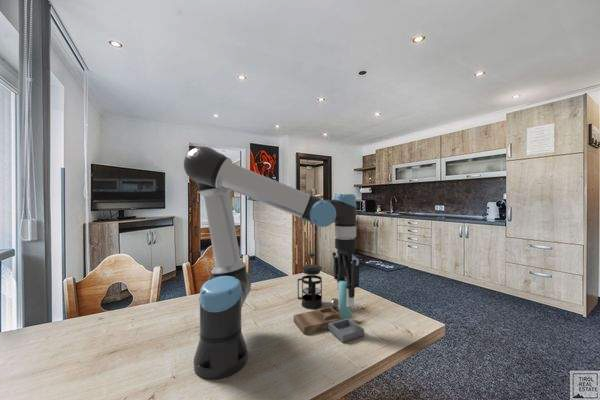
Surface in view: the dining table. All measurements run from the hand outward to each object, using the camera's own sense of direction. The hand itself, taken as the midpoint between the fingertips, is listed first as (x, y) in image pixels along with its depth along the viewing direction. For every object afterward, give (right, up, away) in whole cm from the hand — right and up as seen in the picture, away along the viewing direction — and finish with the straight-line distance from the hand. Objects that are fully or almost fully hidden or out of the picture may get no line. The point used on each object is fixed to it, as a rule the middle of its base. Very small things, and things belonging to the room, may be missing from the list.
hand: (346, 303), depth 88 cm
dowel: (0, -5, 0) cm, 5 cm away
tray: (0, -11, 0) cm, 11 cm away
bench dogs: (-1, -11, +12) cm, 16 cm away
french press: (-12, -11, +24) cm, 28 cm away
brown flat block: (-10, -11, +7) cm, 16 cm away
